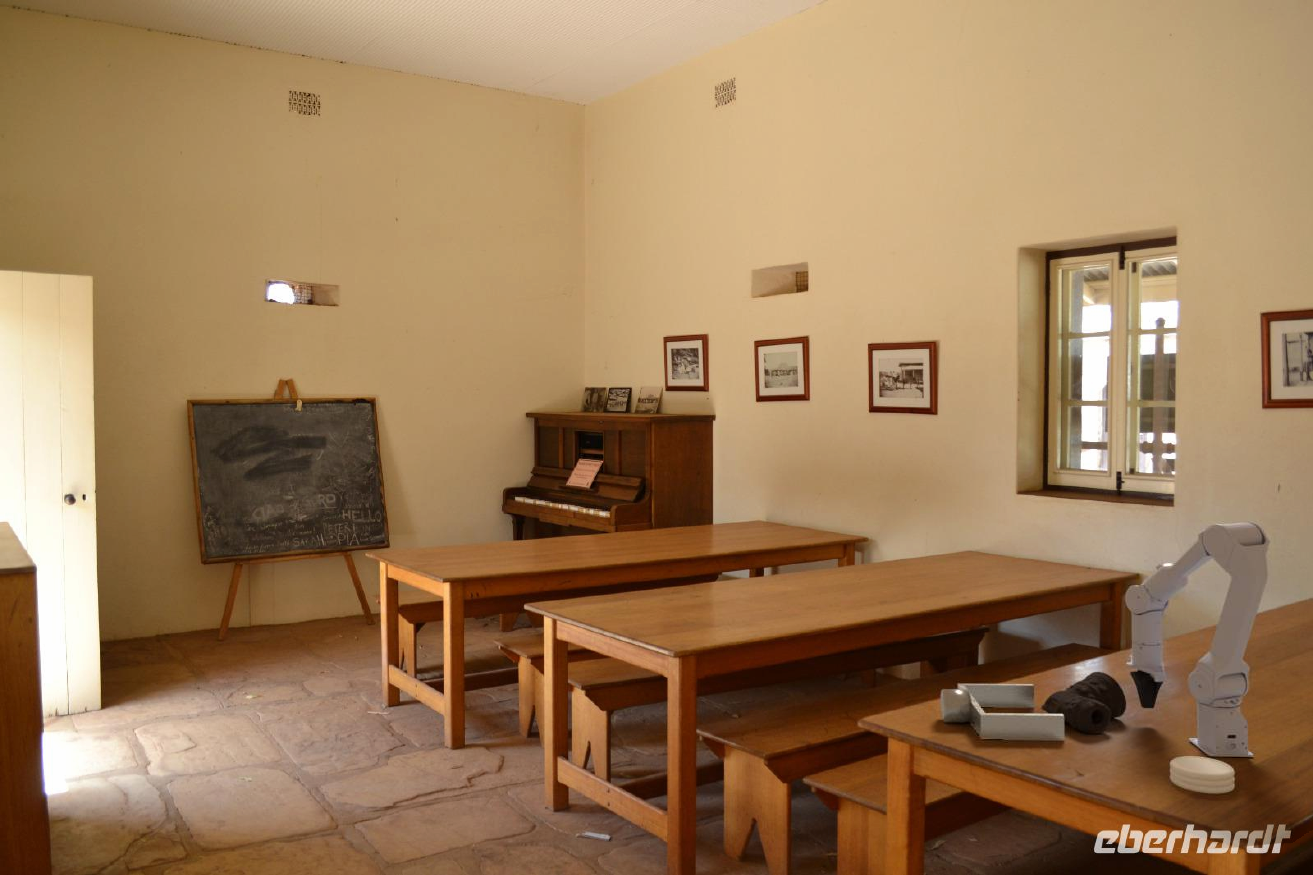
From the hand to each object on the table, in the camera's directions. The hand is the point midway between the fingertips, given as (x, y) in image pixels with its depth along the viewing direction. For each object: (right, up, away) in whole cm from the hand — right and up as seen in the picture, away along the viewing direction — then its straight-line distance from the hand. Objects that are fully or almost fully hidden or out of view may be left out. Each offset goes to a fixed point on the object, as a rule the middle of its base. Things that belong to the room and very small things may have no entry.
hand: (1147, 707), depth 211 cm
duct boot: (-31, -4, +3) cm, 31 cm away
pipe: (-12, -4, +2) cm, 12 cm away
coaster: (-7, -5, -33) cm, 34 cm away
